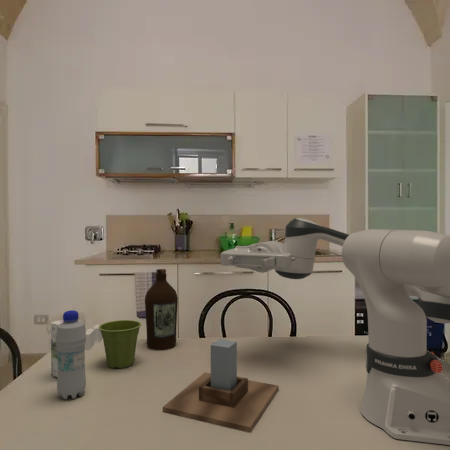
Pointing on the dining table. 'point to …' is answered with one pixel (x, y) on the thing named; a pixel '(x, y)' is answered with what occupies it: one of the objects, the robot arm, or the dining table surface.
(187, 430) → the dining table surface
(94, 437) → the dining table surface
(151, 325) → the olive oil
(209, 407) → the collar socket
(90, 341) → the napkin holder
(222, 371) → the grey peg
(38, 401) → the dining table surface
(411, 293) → the robot arm
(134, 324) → the plant pot
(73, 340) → the bottle
